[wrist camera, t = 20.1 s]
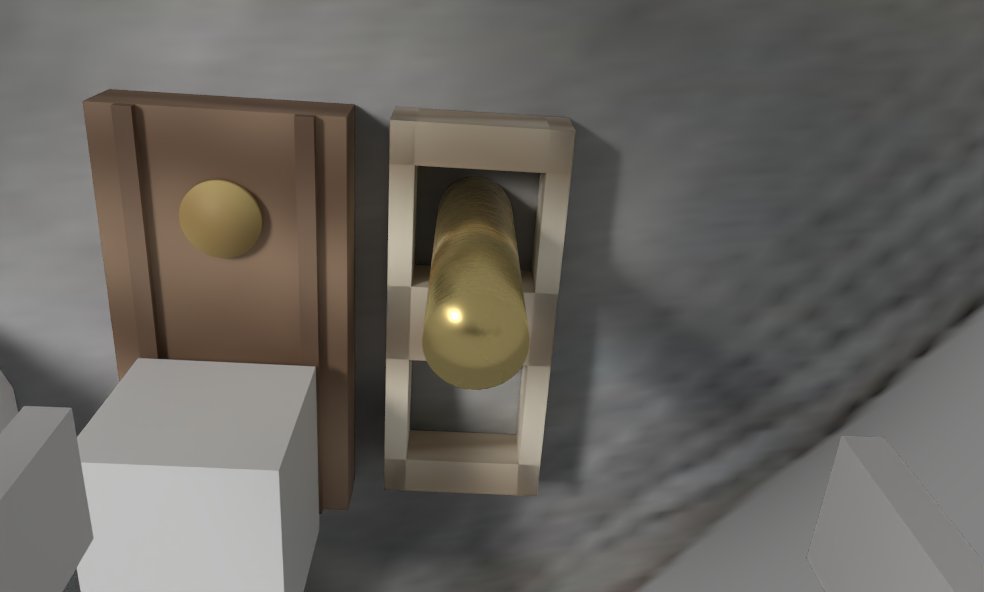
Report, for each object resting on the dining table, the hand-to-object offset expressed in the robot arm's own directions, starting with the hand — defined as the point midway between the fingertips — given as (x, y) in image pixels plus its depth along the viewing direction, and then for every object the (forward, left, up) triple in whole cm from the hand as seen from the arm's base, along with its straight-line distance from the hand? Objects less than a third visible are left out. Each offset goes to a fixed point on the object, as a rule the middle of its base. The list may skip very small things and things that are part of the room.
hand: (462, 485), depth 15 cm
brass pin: (0, 0, -16) cm, 16 cm away
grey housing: (+9, -8, -13) cm, 18 cm away
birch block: (+4, 0, -16) cm, 17 cm away
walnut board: (+4, -8, -16) cm, 18 cm away
